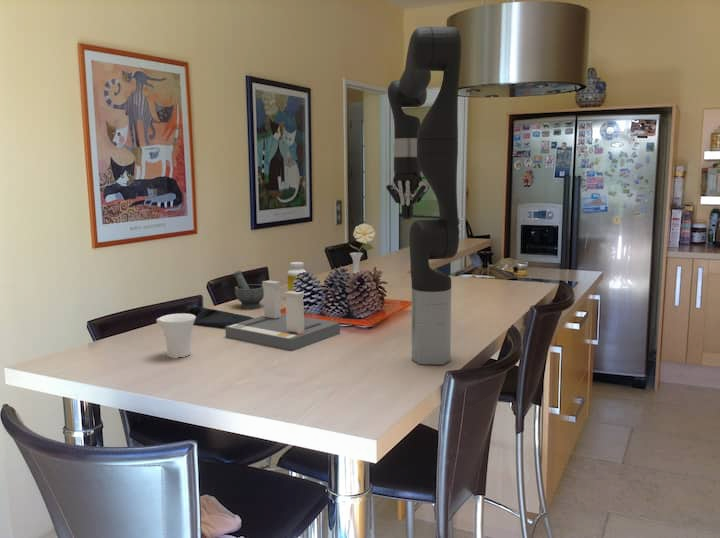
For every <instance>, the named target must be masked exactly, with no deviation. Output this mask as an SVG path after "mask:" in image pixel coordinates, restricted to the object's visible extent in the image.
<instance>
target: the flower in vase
mask: <svg viewBox="0 0 720 538" xmlns="http://www.w3.org/2000/svg"><path fill="white" fill-rule="evenodd" d="M375 235H376V231H375V229H374V227H373V226H372V225H369V224H368V223H362V224H359V225H357V226H355V228H354V230H353V234H352V236H353V237H354V239H355V241H356V242H358V243H361V244H362V245H361V247H360V248H358V247H356V246H353V245H352V244H349V246H350V247H351V248H352V249H355V250H358V251H357V252H350V253H349V255H350V257H351V258H352V263H353V271H352V273H357V272H360V273H361V270H360V264H361V258H362V256H363V255H364V253H363V252H360V251H361V249H362V248H363V249H364V250H365V251H370V250H374V249H375V248H374V246H372V245H371V244H370V242H372V241H374V238H375V237H376V236H375Z"/></svg>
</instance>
